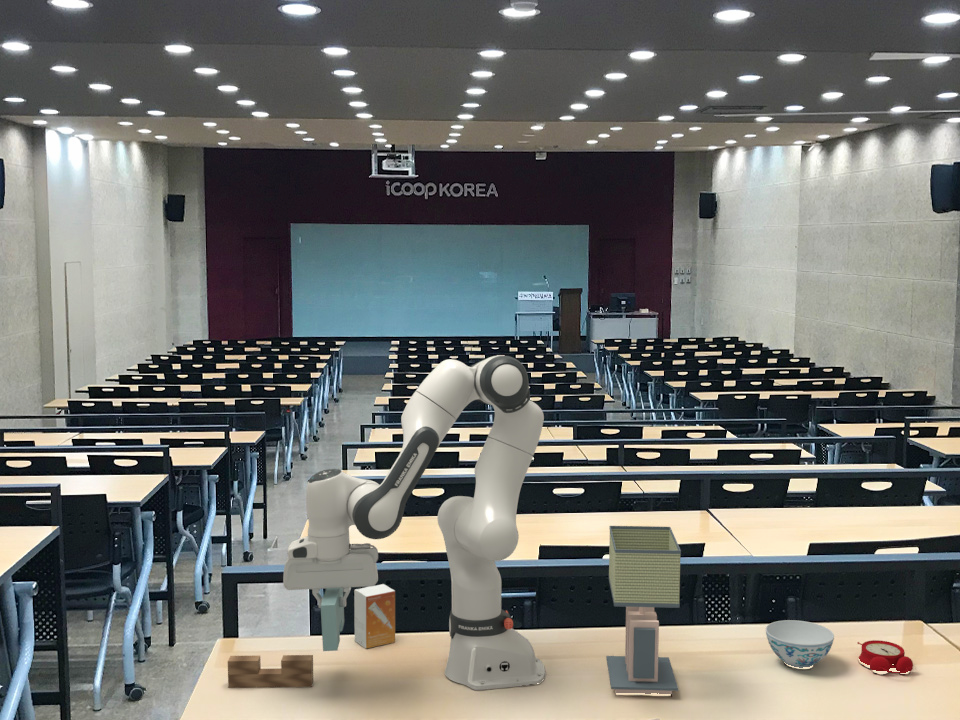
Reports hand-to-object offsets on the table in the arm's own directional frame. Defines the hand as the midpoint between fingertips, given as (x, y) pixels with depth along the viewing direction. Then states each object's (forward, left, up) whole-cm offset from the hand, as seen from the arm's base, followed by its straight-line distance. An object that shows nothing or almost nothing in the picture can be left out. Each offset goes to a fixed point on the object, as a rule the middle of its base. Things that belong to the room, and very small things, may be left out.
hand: (332, 606), depth 229 cm
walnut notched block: (+14, 0, -17) cm, 22 cm away
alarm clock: (-125, -6, -18) cm, 126 cm away
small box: (-7, -24, -18) cm, 31 cm away
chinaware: (-105, -8, -18) cm, 107 cm away
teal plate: (0, 0, -7) cm, 7 cm away
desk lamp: (-67, +1, -18) cm, 70 cm away
